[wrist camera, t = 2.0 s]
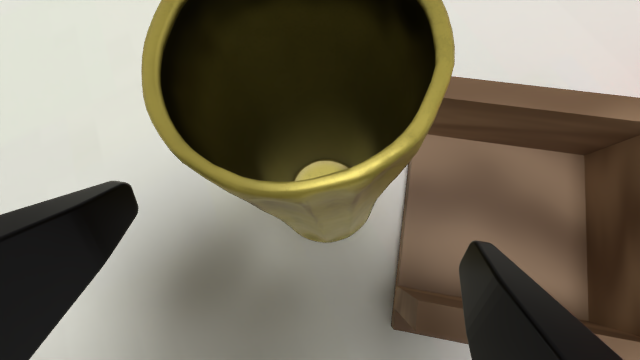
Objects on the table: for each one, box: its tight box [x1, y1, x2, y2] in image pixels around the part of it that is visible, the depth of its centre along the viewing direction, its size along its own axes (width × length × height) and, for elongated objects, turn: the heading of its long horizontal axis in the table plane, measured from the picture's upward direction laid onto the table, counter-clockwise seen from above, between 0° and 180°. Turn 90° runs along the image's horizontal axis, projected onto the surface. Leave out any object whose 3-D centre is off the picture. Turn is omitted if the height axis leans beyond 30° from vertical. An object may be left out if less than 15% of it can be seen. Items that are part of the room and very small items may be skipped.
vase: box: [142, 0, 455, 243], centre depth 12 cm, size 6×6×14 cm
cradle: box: [391, 76, 640, 360], centre depth 15 cm, size 14×12×5 cm
